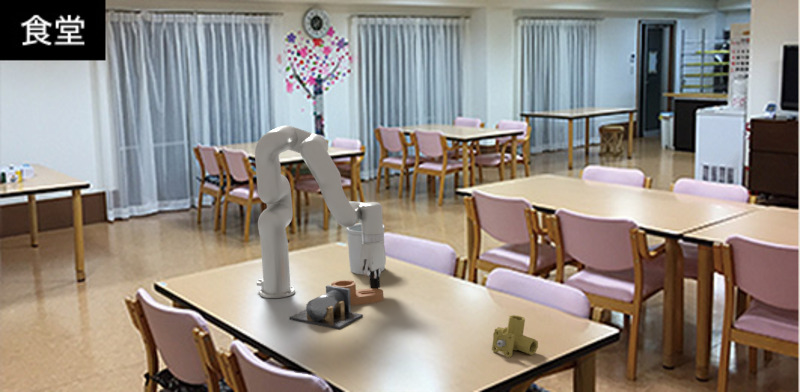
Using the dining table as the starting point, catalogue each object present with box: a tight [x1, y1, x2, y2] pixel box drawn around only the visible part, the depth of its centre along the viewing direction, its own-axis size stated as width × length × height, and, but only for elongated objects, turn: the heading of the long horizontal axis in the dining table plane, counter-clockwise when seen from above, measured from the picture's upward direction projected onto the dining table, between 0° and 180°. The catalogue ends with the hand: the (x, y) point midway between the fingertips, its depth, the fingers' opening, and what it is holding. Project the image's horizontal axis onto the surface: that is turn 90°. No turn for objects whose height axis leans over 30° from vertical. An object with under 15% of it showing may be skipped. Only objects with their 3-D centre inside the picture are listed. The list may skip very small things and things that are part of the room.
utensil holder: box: [346, 222, 386, 275], centre depth 313 cm, size 15×15×18 cm
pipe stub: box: [288, 284, 364, 330], centre depth 259 cm, size 20×14×8 cm
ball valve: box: [491, 314, 539, 358], centre depth 226 cm, size 13×10×10 cm
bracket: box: [330, 279, 384, 306], centre depth 276 cm, size 18×8×7 cm, turn 106°
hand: (375, 287), depth 282 cm, fingers closed
